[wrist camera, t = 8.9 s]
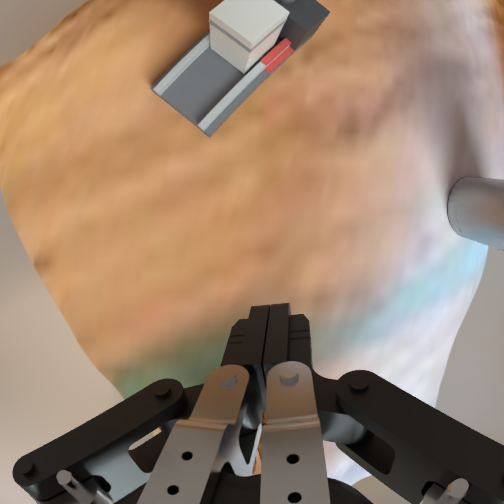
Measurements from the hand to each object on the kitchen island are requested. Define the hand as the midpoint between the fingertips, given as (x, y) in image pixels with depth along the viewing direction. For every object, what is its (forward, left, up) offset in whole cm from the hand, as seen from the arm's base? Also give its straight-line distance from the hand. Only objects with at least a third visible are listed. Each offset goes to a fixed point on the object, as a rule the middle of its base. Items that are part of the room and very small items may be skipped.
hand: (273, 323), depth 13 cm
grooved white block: (-10, -18, -24) cm, 32 cm away
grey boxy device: (-9, -18, -25) cm, 32 cm away
